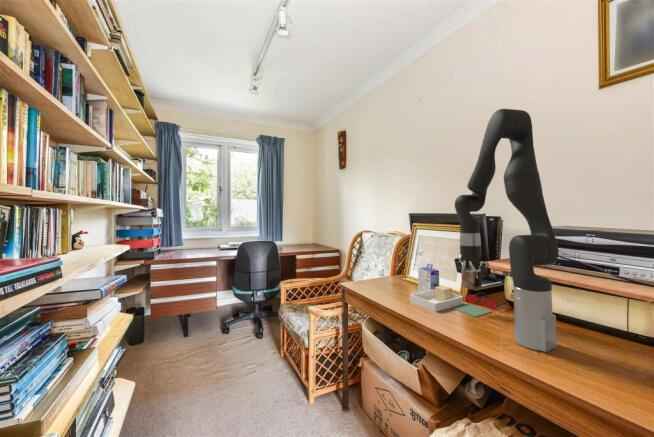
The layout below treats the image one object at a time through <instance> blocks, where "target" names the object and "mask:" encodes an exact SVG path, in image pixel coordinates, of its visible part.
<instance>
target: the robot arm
mask: <svg viewBox="0 0 654 437" xmlns="http://www.w3.org/2000/svg"><path fill="white" fill-rule="evenodd" d="M533 133H534V132H533V122H532V118H531V115H530V114H529V112H527V111H526V110H522V109H512V108H511V109H510V108H500V109H498V110H496V111H495V112H494V113H492V115H491V117H490V118H489V120H488V123H487V125H486V129H485V131H484V135H483V136H484V137H483V139H482V143H481V148H480V150H479V155H478V158H477V162H476V164H475V166H474V168H473V172H472V173H471V175H470V178H469V180H468V183H467V185H466V186H467V189H468V190H469V191H471V192H472V193H471V194H461V195H458V196H457V197H456V198H455V201H454V210H455V213H456V215H457V219H458V221H459V254H460V257H456V258H454V259H453V260H454V264H455V267H456V268H455V269H456V272H457V273H459V274H460V275H461V276H462V272H461V271H462V270H468V269H472V272H474V273H475V277H476V278H475V287H477V288H478V287H480V286H481V287H482V278H486V277H487V274H488V271H489V266H490V263H489V262H488V261H487V262H485V261H482V259H481V256H482V239H481V238H482V237H481V231H480V228H481V227H480V220H479V219H478V218H476V217H473V216H472V215H471V213H476V212H478V211H481V209H482V208H483V207H484V205H485V203H486V198H487V192H488V188H489V186H490V185H491V182H492V180H493V178H494V177H495V174H496V167H497V166H496V156H495V155H496V150H497V147H498V144H499V143H500V141H501V139H508V141H509V144H510V149H511V150H510V151H511V156H510V159H509V162H508V164H507V166H506V169H505V170H504V174H503V182H504V188H505V189H504V190H505V193H506V197H507V199H508V200H509V202H510V203H511V204H512V205H513V207H514V208H516V210H517V211H518V212H519V213H520V214H521V215H522V216H523V217H524V219H525V220H526V222H527V224H528V226H529V230H530V234H518V235H515V236H513V237H512V238H511V239H510V241H509V243H508V244H509V245H508V254H509V265H510V266H509V267H510V273H511V274H510V275H511V278H512V283H513V284H512V286H513V288H512V289H513V300H514V302H513V313H514V314H513V319H514V341H515V342H516V343H517V344H519V345H520V346H523V347H525V348H528V349H531V350H535V351H541V352H543V353H548V352H550V351H552V350H554V349H556V348H557V346H558V344H557V340H558V339H557V316H556V314H553V286H552V285H553V284H552V281H551V279H549V278H548V277H545V276H542V275H538V274H536V273H535V269H534V266H548V265H554V264H555V263H556V262H557V261H558V258H559V254H560V253H559V252H560V251H559V244H558V242H557V239H556V235H555V233H554V229H553V227H552V223H551V220H550V218H549V214H548V210H547V206H546V203H545V197H544V193H543V188H542V187H543V186H542V182H541V176H540V173H539V168H538V163H537V159H536V152H535V147H534V146H535V145H534V136H533V135H534V134H533ZM477 272H478V273H477Z"/></svg>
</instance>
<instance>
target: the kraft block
mask: <svg viewBox="0 0 654 437" xmlns="http://www.w3.org/2000/svg"><path fill="white" fill-rule="evenodd" d="M452 294H453V288H452V287H449V286H445V285H439V286H438V287H435V300H436V301H439V302H442V301H446V300H449V299H452Z"/></svg>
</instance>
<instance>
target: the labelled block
mask: <svg viewBox="0 0 654 437" xmlns="http://www.w3.org/2000/svg"><path fill="white" fill-rule="evenodd" d="M461 272H462V275H461V288H464V289H468V290H471V291H475V290H478V289H482V285H481V286H480V287H478V288H477V287H475V278H476V277H475V273H474V272H472V269H468V270H462V271H461ZM477 273H478V272H477Z"/></svg>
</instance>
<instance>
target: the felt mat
mask: <svg viewBox="0 0 654 437" xmlns="http://www.w3.org/2000/svg"><path fill="white" fill-rule="evenodd" d="M452 310H454V311H458V312H460V313H463V314H465V315H468V316H471V317H474V318H477V317H481V316H484V315H488V314H490V313H493V311H492V310H491V309H488V308H487V309H486V308H483V307H480V306H477V305H473V304H472V303H468V304H462V305H458V306H455V307H454V308H453V307H452Z"/></svg>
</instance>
